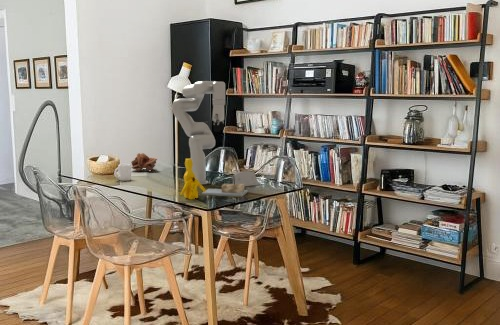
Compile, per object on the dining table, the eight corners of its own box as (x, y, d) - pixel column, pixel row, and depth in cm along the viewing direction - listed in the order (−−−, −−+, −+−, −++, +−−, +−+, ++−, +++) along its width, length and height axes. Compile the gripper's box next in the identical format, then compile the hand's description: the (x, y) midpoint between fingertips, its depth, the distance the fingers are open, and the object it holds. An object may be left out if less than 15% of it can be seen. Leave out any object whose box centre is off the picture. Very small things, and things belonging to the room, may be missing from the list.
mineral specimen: (132, 174, 401) (128, 155, 401) (157, 169, 406) (153, 150, 405) (132, 175, 380) (128, 154, 380) (159, 169, 385) (155, 149, 384)
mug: (117, 182, 343) (117, 166, 342) (111, 180, 349) (110, 165, 348) (133, 179, 351) (133, 164, 350) (127, 178, 357) (126, 163, 356)
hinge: (237, 187, 324) (234, 171, 325) (233, 188, 328) (230, 173, 329) (259, 184, 333) (256, 169, 335) (255, 186, 337) (252, 171, 339)
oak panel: (221, 192, 301) (221, 185, 300) (224, 190, 307) (224, 183, 306) (241, 193, 298) (241, 186, 298) (244, 191, 304) (244, 184, 303)
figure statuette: (182, 201, 281) (181, 161, 279) (174, 199, 287) (173, 159, 284) (208, 197, 293) (208, 158, 291) (199, 195, 299) (199, 157, 296)
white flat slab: (202, 194, 300) (201, 192, 300) (208, 190, 312) (208, 188, 312) (242, 196, 295) (242, 194, 294) (247, 192, 307) (247, 190, 307)
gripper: (217, 101, 321) (217, 129, 324) (208, 102, 305) (208, 131, 307) (228, 102, 320) (228, 129, 322) (220, 103, 303) (220, 132, 305)
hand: (218, 130), depth 315 cm, fingers open, 9 cm apart
